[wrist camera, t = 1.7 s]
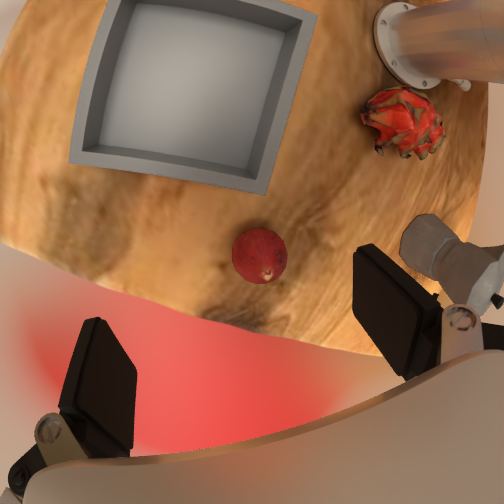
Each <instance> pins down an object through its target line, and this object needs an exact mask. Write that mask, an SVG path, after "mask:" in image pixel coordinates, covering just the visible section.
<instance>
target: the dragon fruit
mask: <svg viewBox="0 0 504 504" xmlns="http://www.w3.org/2000/svg"><path fill="white" fill-rule="evenodd" d="M384 90H385V91H384ZM377 92H379V93H377V94H376V95H375V96H373V97H372V98H371V99H370V100H368V101H367V102H366V103H365V105H364V107H363V109H362V110H361V111H360V113H359V115H361V119H362V121H363V124H364V126H367V125H368V126H369V127H370V128H374V127H376V128H377V129H378V130H380V132H381V133H380V135H379V136H378V137H377V138H376V139H375V140H374V141H375V146H374V147H375V150H376V151H377V152H378V154H380V155H382V156H383V151H382V146H384V147H387V146H388V145H390V144H391V145H392V144H397V145H399V152H400V156H401V157H402V158H406V159H408V158H410V157H411V155H408V154H409V153H410V152H411V151H415V153H416V155H417V156H418V157H419V159H420V160H423V159H425V158H426V157H427V156H428V152H429V153H431V154H433V153H435V152H436V150H437V148H438V147H439V146H440V145H441V144H442V142H443V141H444V140H443V139H442V138H444V137H446V134H445V130H444V129H443V128H442V123H443V119H442V117H441V115H440V114H437V113H436V112H435V110H434V105H433V104H431V103H430V100H429V98H428V96H427V95H426V94H424V93H420V92H417V91H415V90H414V89H411V88H410V87H408V86H406V85H401V86H398V87H393V88H386V89H381V90H378V91H377ZM366 110H367V111H366ZM362 126H363V125H362ZM361 130H362V129H361Z"/></svg>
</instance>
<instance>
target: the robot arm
mask: <svg viewBox="0 0 504 504" xmlns="http://www.w3.org/2000/svg"><path fill="white" fill-rule="evenodd" d="M373 32H374V40H375V44H376V47H377V50H378V52H379V55H380V57H381V59H382V61H383V62H384V64H385V66H386V67H387V68H388V70H389V71H390V72H391V73H392V74H393V75H394V76H395V77H396V78H397V79H398V80H399V81H401V82H402V83H403V84H405V85H407V86H409V87H412V88H415V89H430V88H433V87H435V86H436V85H437V84H439V83H440V81H441V80H442V79H448V80H449V81H451V82H455V84H456V85H457V86H459V87H460V88H461V89H462V90H463V91H468V90H469V89H470V87H471V83H470V82H469V81H468V80H474V81H484V82H493V83H501V84H504V0H450V1H445V2H440V3H435V4H431V5H426V6H422V7H418V8H417V7H416V6H414V5H411V4H409V3H405V2H394V3H391V4H388V5H386V6H384V7H383V8H381V9H380V10H379V12H378V13H377V15H376V17H375V21H374V29H373ZM440 305H441V304H440V303H439V302H438V301H437V300H436V299H435V298H434V297H433V296H432V295H431V294H430V293H429V292H428V291H426V290H425V289H424V288H423V287H422V286H421V285H420V284H419V283H418V282H417V281H415V280H414V279H413V278H412V277H411V276H410V275H409V274H408V273H406V272H405V271H404V270H403V269H402V268H401V267H400V266H398V265H397V264H396V263H395V262H394V261H393V260H392V259H390V258H389V257H388V256H387V255H386V254H384V253H383V252H382V251H381V250H380V249H379V248H377V247H376V246H375V245H374V244H372V243H371V244H367V245H364V246H360V247H358V248H357V250H356V252H354V254H353V301H352V310H353V313H354V316H355V317H356V319H357V320H358V321H359V323H360V324H361V325H362V327H363V328H364V330H365V331H366V332H367V334H368V335H369V336H370V338H371V339H372V341H373V342H374V343H375V345H376V346H377V347H378V349H379V350H380V352H381V353H382V354H383V356H384V357H385V359H386V360H387V362H388V363H389V364H390V366H391V367H392V368H393V370H394V372H395V373H396V374H397V375H398V376H402V377H403V378H404V380H405V381H406V382H405V383H403V384H401V385H399V386H397V387H395V388H393V389H390V390H388V391H386V392H384V393H382V394H380V395H378V396H375V397H373V398H371V399H369V400H366V401H364V402H362V403H359V404H357V405H354V406H352V407H350V408H347V409H345V410H342V411H339V412H337V413H334V414H332V415H329V416H326V417H324V418H320V419H318V420H315V421H312V422H309V423H306V424H303V425H300V426H296V427H293V428H290V429H287V430H283V431H280V432H276V433H273V434H269V435H265V436H261V437H257V438H253V439H250V440H245V441H241V442H236V443H232V444H227V445H222V446H217V447H211V448H205V449H199V450H193V451H186V452H179V453H171V454H162V455H152V456H139V457H130V449H132V448H133V441H134V440H133V439H134V415H135V398H136V386H137V370H136V367H135V366H134V364H133V363H132V361H131V360H130V358H129V357H128V355H127V354H126V352H125V351H124V349H123V348H122V346H121V345H120V343H119V341H118V340H117V338H116V337H115V335H114V334H113V332H112V330H111V328H110V327H109V325H108V323H107V322H106V321H105V320H102V319H101V318H100V317H95V318H90V319H86V320H85V321H84V323H83V326H82V328H81V331H80V334H79V337H78V340H77V343H76V346H75V349H74V352H73V355H72V358H71V361H70V364H69V368H68V372H67V374H66V378H65V381H64V385H63V389H62V392H61V397H60V401H59V404H58V407H59V409H60V413H59V414H58V413H49V414H46V415H44V416H43V417H42V418H41V419H40V420H39V421H38V423H37V425H36V427H35V431H34V433H35V434H34V437H35V440H36V444H35V445H34V446H33V447H32V448H31V449H30V450H29V451H28V452H26V453H25V454H24V456H22V457H21V458H20V459H19V460H18V461H17V462H16V463H15V464H14V465H13V466H12V467H11V468H10V471H9V474H8V483H9V486H10V489H9V488H7V487H6V488H5V490H4V492H3V494H2V496H1V497H0V504H504V326H501V325H495V324H488V323H482V322H481V320H480V317H479V315H478V313H477V312H476V311H475V310H474V309H473V308H472V307H469V306H467V305H464V304H453V305H449V306H448V307H446V308H445V310H444V309H443V308H442V307H441V306H440ZM416 376H417V377H416ZM414 377H415V378H414ZM412 378H413V379H412ZM410 379H411V380H410ZM119 457H124V458H119Z"/></svg>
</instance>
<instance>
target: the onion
mask: <svg viewBox="0 0 504 504" xmlns="http://www.w3.org/2000/svg"><path fill="white" fill-rule="evenodd" d="M287 255H288V254H287V251H286V247H285V244H284V241H283V240H282V239H281V238H280V237H279V236H278V235H277V234H276V233H275V232H273V231H270V230H267V229H252V230H250V231H247V232H245V233H243V234H242V235H241V236H240V237H239V238H238V239H237V240H236V242H235V244H234V246H233V248H232V262H233V264H234V267H235V269H236V271H237V272H238V273H239V274H240V275H241V276H242V277H243V278H244V279H245V280H247V281H249V282H252V283H255V284H266V283H269V282H272V281H274V280H275V279H277V278H278V277H279V276H280V275H281V274H282V272H283V271H284V269H285V267H286V262H287Z"/></svg>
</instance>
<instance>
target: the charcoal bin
mask: <svg viewBox="0 0 504 504" xmlns="http://www.w3.org/2000/svg"><path fill="white" fill-rule="evenodd" d="M317 18H318V15H316V14H314V13H311V12H309V11H306V10H304V9H301V8H298V7H296V6H293V5H290V4H287V3H284V2H281V1H278V0H109V1H108V3H107V6H106V8H105V11H104V13H103V16H102V19H101V21H100V24H99V27H98V30H97V33H96V36H95V39H94V42H93V45H92V48H91V51H90V55H89V58H88V62H87V65H86V69H85V73H84V77H83V81H82V85H81V89H80V94H79V99H78V103H77V109H76V114H75V119H74V125H73V132H72V138H71V146H70V154H69V163H68V164H78V165H86V166H94V167H102V168H110V169H117V170H125V171H132V172H138V173H145V174H151V175H158V176H164V177H170V178H176V179H182V180H187V181H193V182H199V183H204V184H209V185H215V186H220V187H225V188H230V189H235V190H240V191H245V192H250V193H254V194H259V195H264V196H265V195H266V192H267V188H268V185H269V181H270V178H271V175H272V171H273V168H274V164H275V161H276V157H277V154H278V151H279V147H280V144H281V140H282V137H283V133H284V130H285V127H286V123H287V120H288V116H289V113H290V109H291V106H292V103H293V99H294V96H295V92H296V89H297V86H298V82H299V79H300V75H301V72H302V69H303V65H304V62H305V58H306V55H307V52H308V48H309V45H310V41H311V38H312V35H313V31H314V28H315V24H316V21H317Z"/></svg>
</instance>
